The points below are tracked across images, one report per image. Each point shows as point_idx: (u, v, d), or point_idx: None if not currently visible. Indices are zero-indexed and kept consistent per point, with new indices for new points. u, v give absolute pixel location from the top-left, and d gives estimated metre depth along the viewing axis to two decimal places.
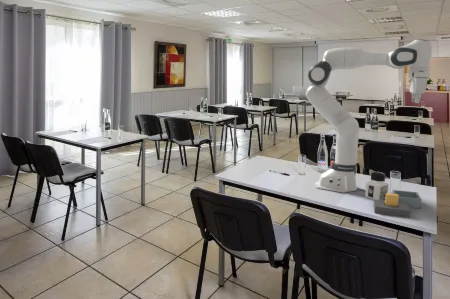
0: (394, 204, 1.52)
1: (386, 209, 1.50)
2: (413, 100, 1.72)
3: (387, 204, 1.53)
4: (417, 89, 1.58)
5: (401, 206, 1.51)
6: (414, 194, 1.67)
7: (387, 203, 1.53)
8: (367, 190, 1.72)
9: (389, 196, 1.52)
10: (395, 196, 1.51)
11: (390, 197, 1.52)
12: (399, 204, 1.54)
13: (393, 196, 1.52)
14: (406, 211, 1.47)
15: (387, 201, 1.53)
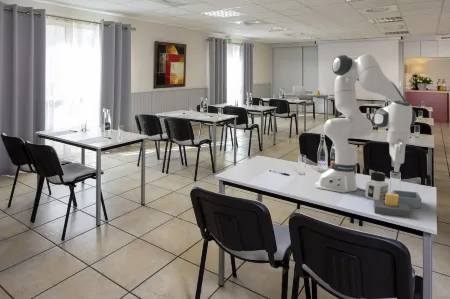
0: (394, 204, 1.52)
1: (386, 209, 1.50)
2: None
3: (387, 204, 1.53)
4: None
5: (401, 206, 1.51)
6: (414, 194, 1.67)
7: (387, 203, 1.53)
8: (367, 190, 1.72)
9: (389, 196, 1.52)
10: (395, 196, 1.51)
11: (390, 197, 1.52)
12: (399, 204, 1.54)
13: (393, 196, 1.52)
14: (406, 211, 1.47)
15: (387, 201, 1.53)
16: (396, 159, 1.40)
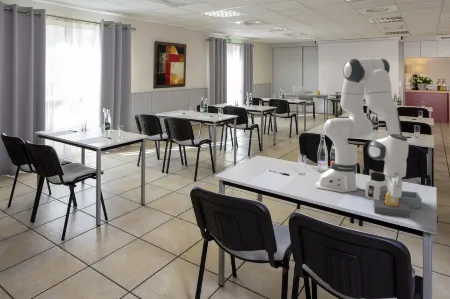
0: (394, 204, 1.52)
1: (386, 209, 1.50)
2: None
3: (387, 204, 1.53)
4: None
5: (401, 206, 1.51)
6: (414, 194, 1.67)
7: (387, 203, 1.53)
8: (367, 190, 1.72)
9: (389, 196, 1.52)
10: None
11: None
12: (399, 204, 1.54)
13: None
14: (406, 211, 1.47)
15: (387, 201, 1.53)
16: (394, 193, 1.43)
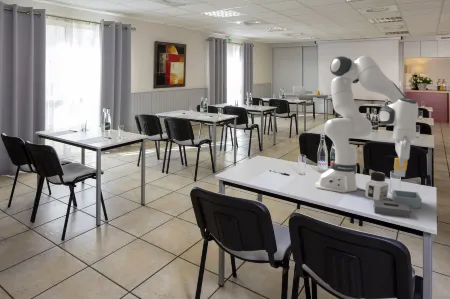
0: (403, 168, 1.53)
1: (386, 209, 1.50)
2: None
3: (396, 168, 1.54)
4: None
5: (401, 206, 1.51)
6: (414, 194, 1.67)
7: (396, 167, 1.54)
8: (367, 190, 1.72)
9: (398, 160, 1.53)
10: None
11: None
12: (399, 204, 1.54)
13: None
14: (406, 211, 1.47)
15: (396, 166, 1.54)
16: (401, 155, 1.44)
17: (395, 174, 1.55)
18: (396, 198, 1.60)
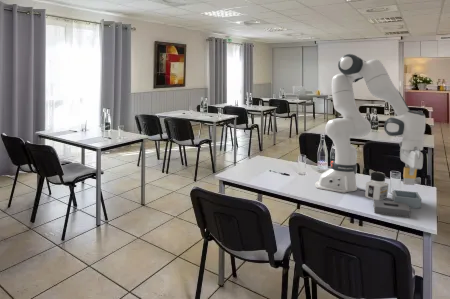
0: (412, 177, 1.60)
1: (386, 209, 1.50)
2: None
3: (406, 177, 1.61)
4: None
5: (401, 206, 1.51)
6: (414, 194, 1.67)
7: (406, 176, 1.61)
8: (367, 190, 1.72)
9: (408, 170, 1.60)
10: None
11: None
12: (399, 204, 1.54)
13: None
14: (406, 211, 1.47)
15: (406, 175, 1.61)
16: (415, 165, 1.51)
17: (405, 183, 1.62)
18: (396, 198, 1.60)
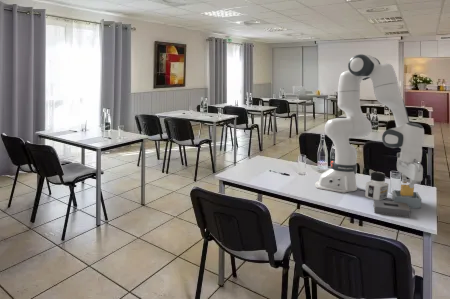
0: (410, 194, 1.62)
1: (386, 209, 1.50)
2: None
3: (404, 195, 1.63)
4: None
5: (401, 206, 1.51)
6: (414, 194, 1.67)
7: (404, 194, 1.63)
8: (367, 190, 1.72)
9: (405, 187, 1.62)
10: None
11: (406, 188, 1.62)
12: (399, 204, 1.54)
13: (409, 187, 1.62)
14: (406, 211, 1.47)
15: (404, 192, 1.62)
16: (415, 178, 1.52)
17: None
18: (396, 198, 1.60)
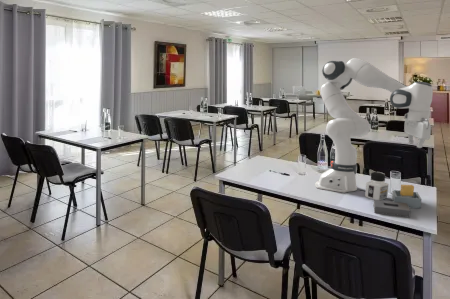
0: (410, 194, 1.62)
1: (386, 209, 1.50)
2: None
3: (404, 195, 1.63)
4: None
5: (401, 206, 1.51)
6: (414, 194, 1.67)
7: (404, 194, 1.63)
8: (367, 190, 1.72)
9: (405, 187, 1.62)
10: (411, 187, 1.62)
11: (406, 188, 1.62)
12: (399, 204, 1.54)
13: (409, 187, 1.62)
14: (406, 211, 1.47)
15: (404, 192, 1.62)
16: (423, 136, 1.51)
17: None
18: (396, 198, 1.60)
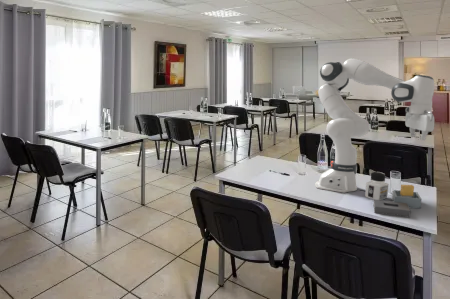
0: (410, 194, 1.62)
1: (386, 209, 1.50)
2: None
3: (404, 195, 1.63)
4: None
5: (401, 206, 1.51)
6: (414, 194, 1.67)
7: (404, 194, 1.63)
8: (367, 190, 1.72)
9: (405, 187, 1.62)
10: (411, 187, 1.62)
11: (406, 188, 1.62)
12: (399, 204, 1.54)
13: (409, 187, 1.62)
14: (406, 211, 1.47)
15: (404, 192, 1.62)
16: (427, 128, 1.53)
17: None
18: (396, 198, 1.60)
